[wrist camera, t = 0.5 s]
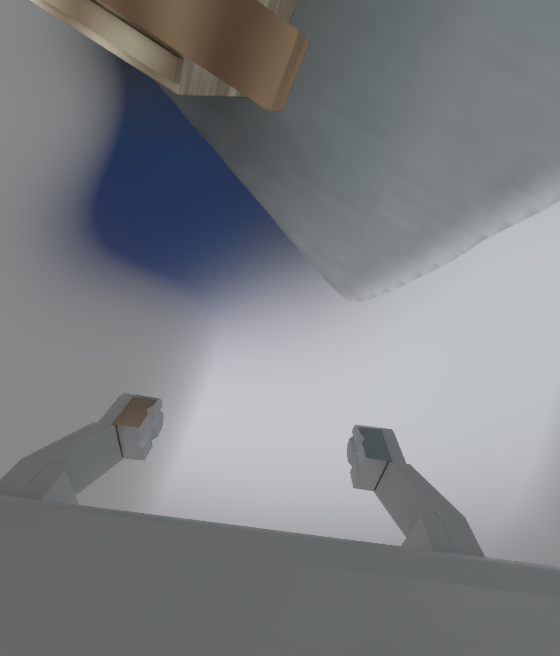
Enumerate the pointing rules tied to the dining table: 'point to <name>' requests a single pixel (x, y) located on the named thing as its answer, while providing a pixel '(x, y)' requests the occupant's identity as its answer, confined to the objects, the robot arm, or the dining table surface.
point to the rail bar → (227, 42)
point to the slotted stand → (148, 44)
